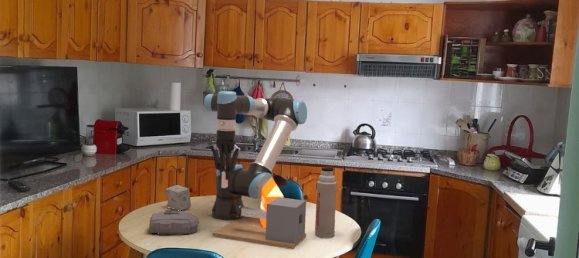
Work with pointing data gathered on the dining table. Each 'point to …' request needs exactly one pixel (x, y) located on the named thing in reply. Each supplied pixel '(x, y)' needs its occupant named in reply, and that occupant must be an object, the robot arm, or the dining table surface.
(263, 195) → the orange juice
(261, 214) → the shaft
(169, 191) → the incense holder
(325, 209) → the thermos bottle
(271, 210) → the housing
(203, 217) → the dining table surface
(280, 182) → the decorative mushroom
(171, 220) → the grey rounded bag
